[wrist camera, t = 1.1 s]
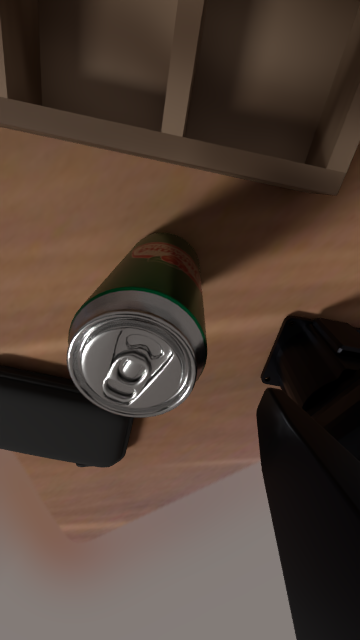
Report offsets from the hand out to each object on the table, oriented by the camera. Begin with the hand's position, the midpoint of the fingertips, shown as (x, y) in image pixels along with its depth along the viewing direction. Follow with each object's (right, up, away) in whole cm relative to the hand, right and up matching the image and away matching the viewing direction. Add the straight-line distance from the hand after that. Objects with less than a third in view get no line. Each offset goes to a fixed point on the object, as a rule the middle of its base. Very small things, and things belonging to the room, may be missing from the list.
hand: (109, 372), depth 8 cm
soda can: (+1, +5, +12) cm, 13 cm away
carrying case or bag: (-10, -8, +20) cm, 23 cm away
